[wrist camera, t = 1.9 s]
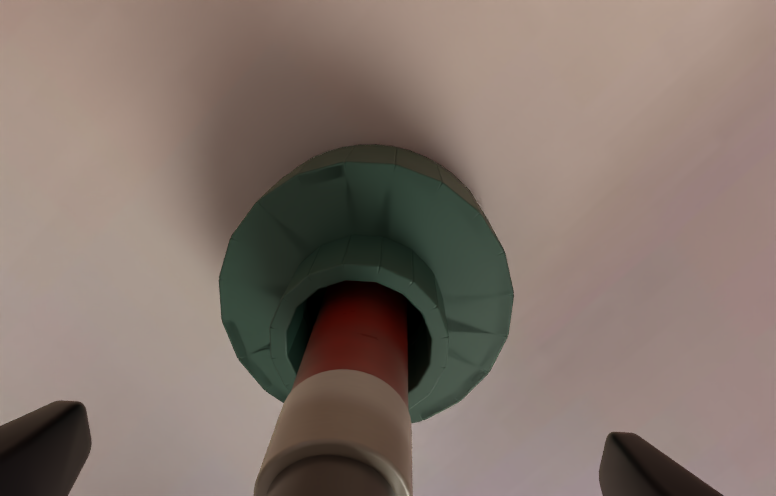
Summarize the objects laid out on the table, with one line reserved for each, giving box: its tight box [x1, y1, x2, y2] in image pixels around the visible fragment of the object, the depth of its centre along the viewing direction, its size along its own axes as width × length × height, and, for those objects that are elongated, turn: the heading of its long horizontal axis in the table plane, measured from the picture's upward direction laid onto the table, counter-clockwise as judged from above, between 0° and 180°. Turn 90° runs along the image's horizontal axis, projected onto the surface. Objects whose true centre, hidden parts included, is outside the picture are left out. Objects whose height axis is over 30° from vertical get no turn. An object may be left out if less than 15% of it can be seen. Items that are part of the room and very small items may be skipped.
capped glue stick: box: [254, 280, 413, 496], centre depth 11 cm, size 2×2×11 cm
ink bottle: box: [219, 144, 514, 423], centre depth 14 cm, size 8×8×5 cm
